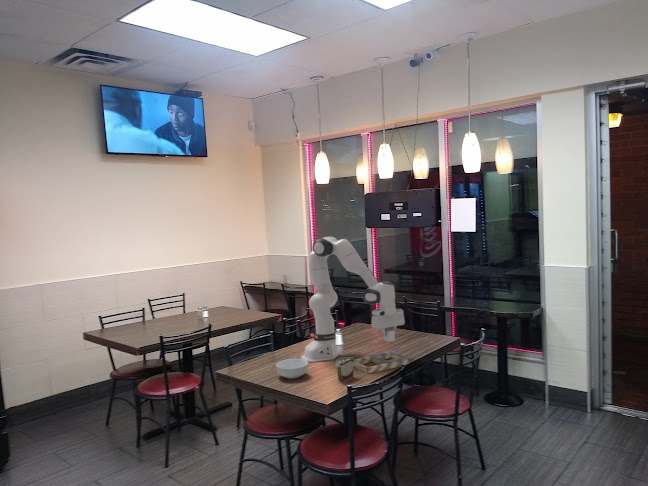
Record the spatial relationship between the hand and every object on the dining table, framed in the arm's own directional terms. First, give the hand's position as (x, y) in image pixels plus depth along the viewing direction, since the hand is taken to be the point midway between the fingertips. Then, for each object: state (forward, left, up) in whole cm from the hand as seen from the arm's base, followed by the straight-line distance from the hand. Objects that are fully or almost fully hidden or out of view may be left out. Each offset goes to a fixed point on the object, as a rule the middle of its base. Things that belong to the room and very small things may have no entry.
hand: (388, 335), depth 269 cm
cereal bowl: (-55, +11, -16) cm, 58 cm away
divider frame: (-7, 0, -16) cm, 17 cm away
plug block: (0, 0, -3) cm, 3 cm away
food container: (-35, -8, -16) cm, 39 cm away
